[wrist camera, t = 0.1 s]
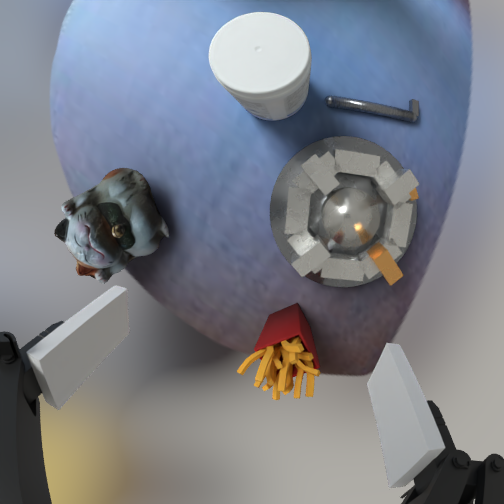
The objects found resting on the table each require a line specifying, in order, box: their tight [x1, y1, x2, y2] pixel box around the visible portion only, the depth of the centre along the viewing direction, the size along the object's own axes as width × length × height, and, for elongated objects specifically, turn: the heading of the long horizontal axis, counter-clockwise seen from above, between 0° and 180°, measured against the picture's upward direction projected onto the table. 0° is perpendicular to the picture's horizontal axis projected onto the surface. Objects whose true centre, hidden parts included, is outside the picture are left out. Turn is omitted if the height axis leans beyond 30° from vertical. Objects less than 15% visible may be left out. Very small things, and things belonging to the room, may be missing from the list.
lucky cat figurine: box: [54, 168, 169, 283], centre depth 37 cm, size 15×12×14 cm
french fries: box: [237, 303, 321, 400], centre depth 36 cm, size 9×8×15 cm
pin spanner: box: [325, 96, 419, 122], centre depth 32 cm, size 14×3×2 cm, turn 87°
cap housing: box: [270, 136, 419, 287], centre depth 34 cm, size 20×20×6 cm
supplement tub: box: [209, 12, 311, 120], centre depth 27 cm, size 10×10×15 cm
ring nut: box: [285, 149, 419, 286], centre depth 31 cm, size 16×16×6 cm
